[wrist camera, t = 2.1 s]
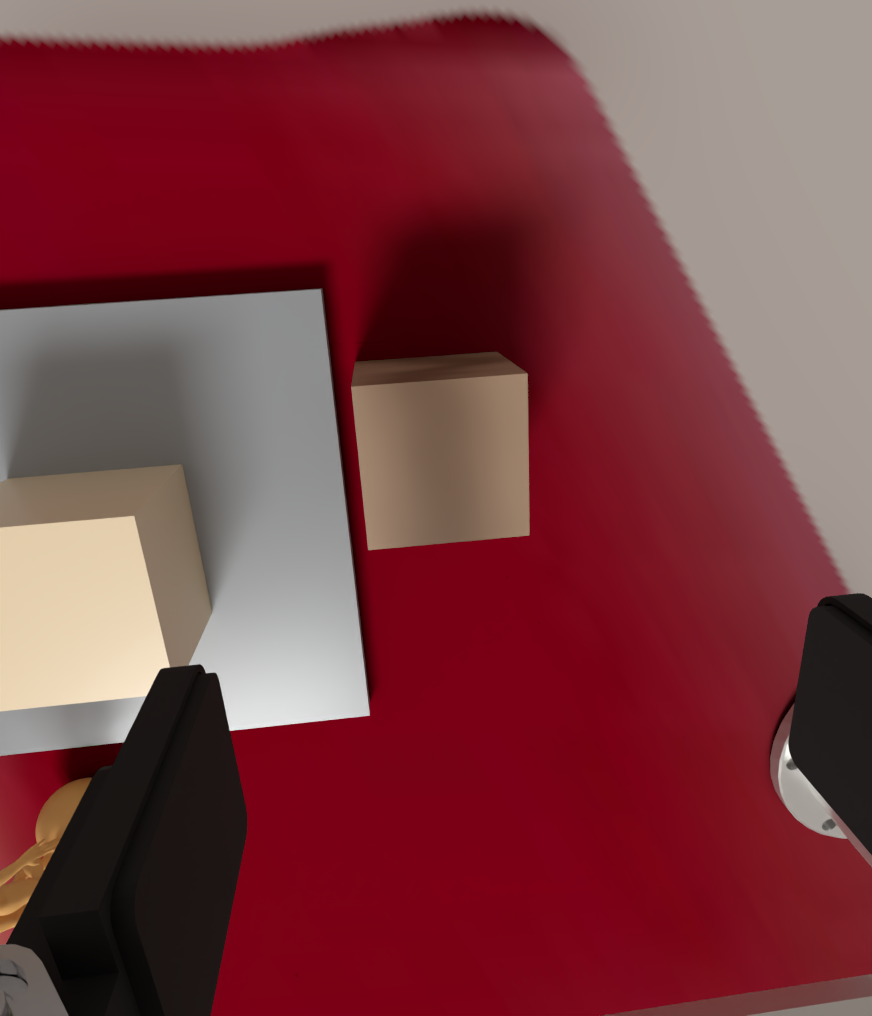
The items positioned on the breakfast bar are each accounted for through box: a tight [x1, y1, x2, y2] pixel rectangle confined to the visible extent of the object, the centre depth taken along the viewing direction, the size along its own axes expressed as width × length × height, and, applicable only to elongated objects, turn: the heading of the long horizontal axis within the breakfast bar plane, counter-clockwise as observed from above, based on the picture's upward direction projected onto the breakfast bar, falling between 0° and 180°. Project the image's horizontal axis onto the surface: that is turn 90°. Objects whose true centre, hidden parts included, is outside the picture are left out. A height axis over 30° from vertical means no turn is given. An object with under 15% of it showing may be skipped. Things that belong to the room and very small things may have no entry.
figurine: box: [0, 778, 92, 933], centre depth 28 cm, size 8×6×12 cm
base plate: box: [0, 288, 370, 756], centre depth 26 cm, size 20×20×7 cm
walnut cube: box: [351, 352, 529, 550], centre depth 26 cm, size 6×6×6 cm
